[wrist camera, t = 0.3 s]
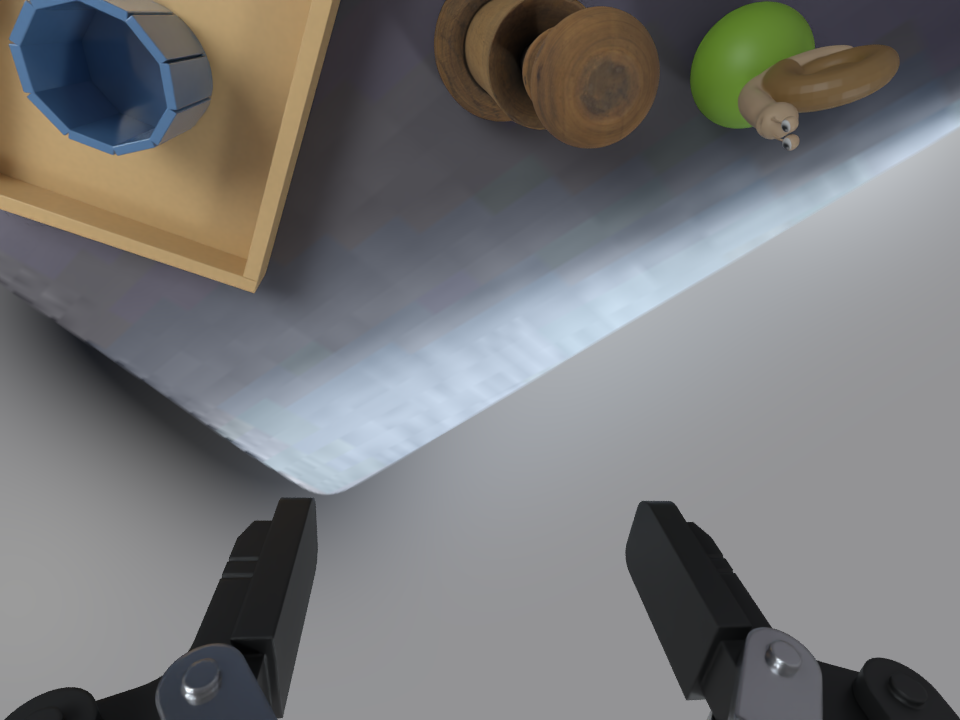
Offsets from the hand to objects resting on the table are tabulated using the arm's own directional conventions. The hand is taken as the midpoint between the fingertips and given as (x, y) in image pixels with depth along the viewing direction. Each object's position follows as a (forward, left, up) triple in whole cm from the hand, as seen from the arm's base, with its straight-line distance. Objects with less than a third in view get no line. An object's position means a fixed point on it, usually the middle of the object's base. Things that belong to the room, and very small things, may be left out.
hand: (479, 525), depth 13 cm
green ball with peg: (-14, +10, -22) cm, 28 cm away
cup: (-2, -16, -22) cm, 27 cm away
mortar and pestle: (-10, -1, -22) cm, 24 cm away
